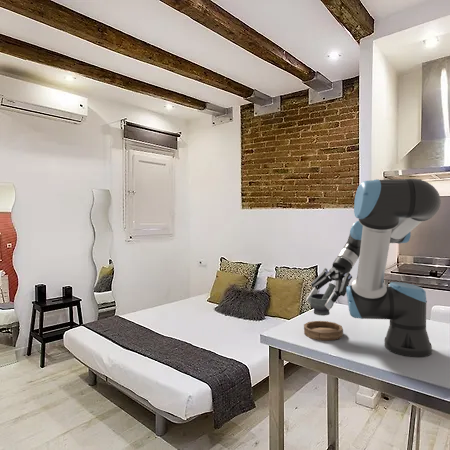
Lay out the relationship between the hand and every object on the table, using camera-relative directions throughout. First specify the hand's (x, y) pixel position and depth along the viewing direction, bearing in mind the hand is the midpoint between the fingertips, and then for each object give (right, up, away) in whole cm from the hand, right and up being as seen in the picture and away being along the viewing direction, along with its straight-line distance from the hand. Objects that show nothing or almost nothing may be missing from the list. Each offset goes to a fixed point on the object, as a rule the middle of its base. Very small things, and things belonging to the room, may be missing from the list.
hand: (317, 304), depth 142 cm
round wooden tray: (+3, -12, +1) cm, 13 cm away
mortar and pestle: (+3, -4, +2) cm, 5 cm away
